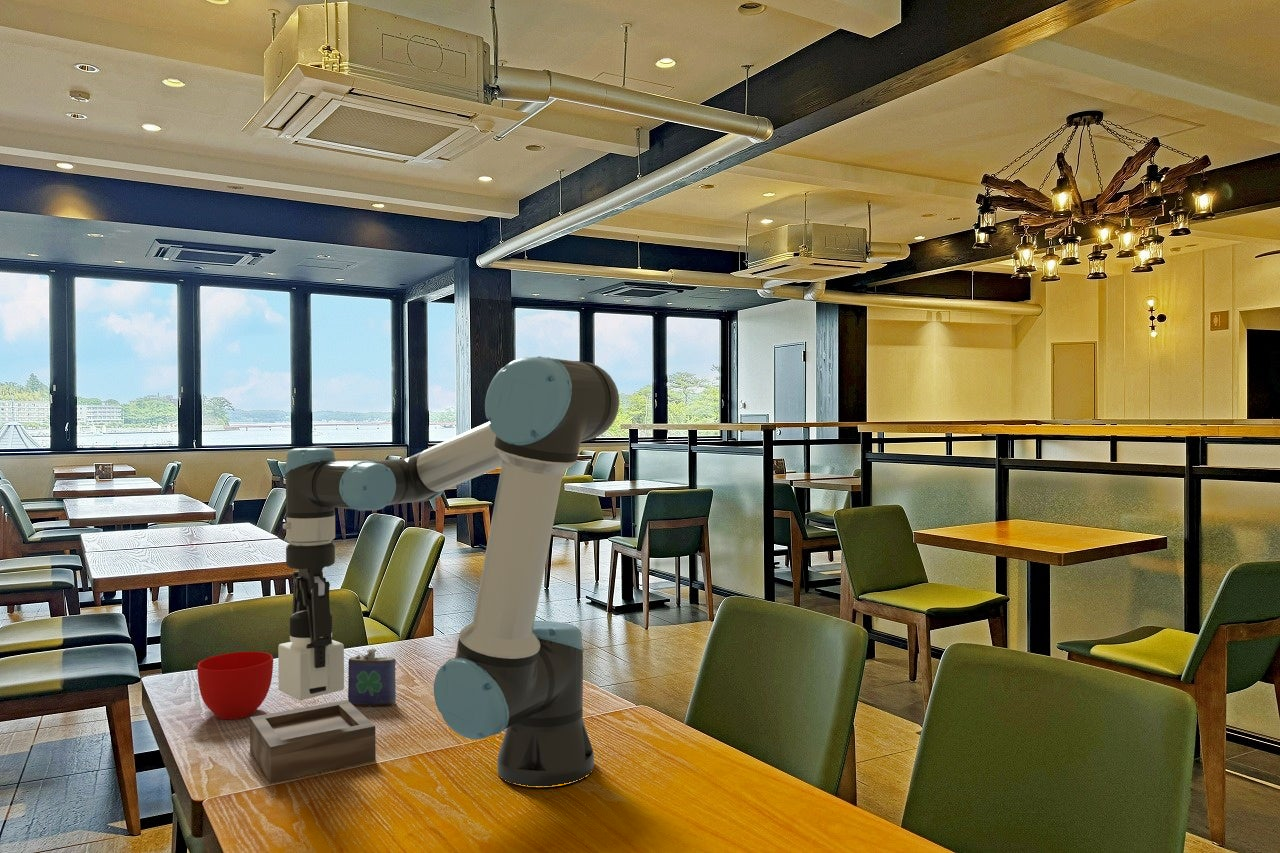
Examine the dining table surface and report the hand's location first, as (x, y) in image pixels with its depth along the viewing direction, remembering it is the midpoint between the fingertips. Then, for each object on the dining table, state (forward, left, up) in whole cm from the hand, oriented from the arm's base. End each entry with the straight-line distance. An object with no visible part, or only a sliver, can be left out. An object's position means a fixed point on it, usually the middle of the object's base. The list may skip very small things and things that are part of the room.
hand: (310, 679), depth 144 cm
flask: (+20, -16, -13) cm, 29 cm away
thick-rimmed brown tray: (0, 0, -12) cm, 12 cm away
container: (0, 0, -2) cm, 2 cm away
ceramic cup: (+31, +7, -13) cm, 34 cm away
